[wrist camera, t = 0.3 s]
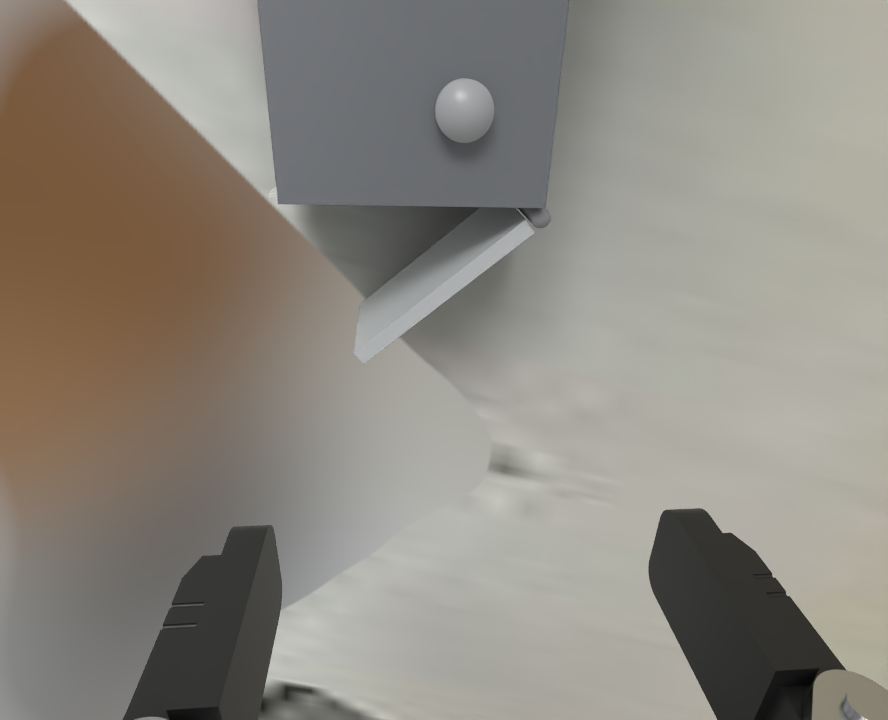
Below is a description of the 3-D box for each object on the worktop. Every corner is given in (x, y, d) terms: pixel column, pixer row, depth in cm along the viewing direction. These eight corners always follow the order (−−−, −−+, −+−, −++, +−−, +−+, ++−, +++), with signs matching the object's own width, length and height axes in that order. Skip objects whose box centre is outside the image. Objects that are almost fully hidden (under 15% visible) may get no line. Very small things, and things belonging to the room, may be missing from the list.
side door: (359, 302, 35) (352, 353, 29) (514, 178, 33) (543, 205, 26) (375, 318, 36) (371, 372, 29) (527, 198, 33) (560, 228, 27)
